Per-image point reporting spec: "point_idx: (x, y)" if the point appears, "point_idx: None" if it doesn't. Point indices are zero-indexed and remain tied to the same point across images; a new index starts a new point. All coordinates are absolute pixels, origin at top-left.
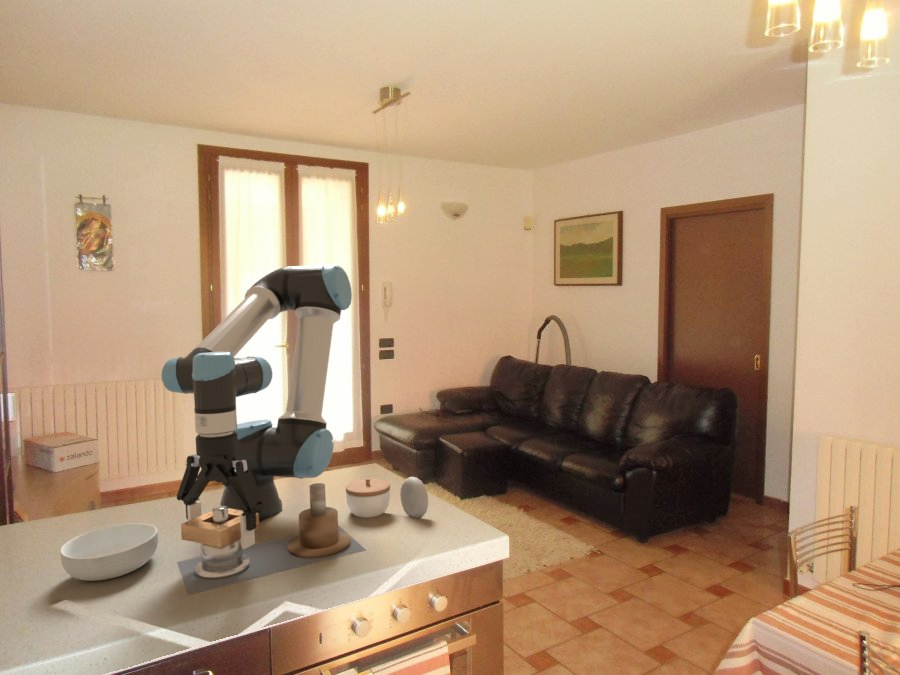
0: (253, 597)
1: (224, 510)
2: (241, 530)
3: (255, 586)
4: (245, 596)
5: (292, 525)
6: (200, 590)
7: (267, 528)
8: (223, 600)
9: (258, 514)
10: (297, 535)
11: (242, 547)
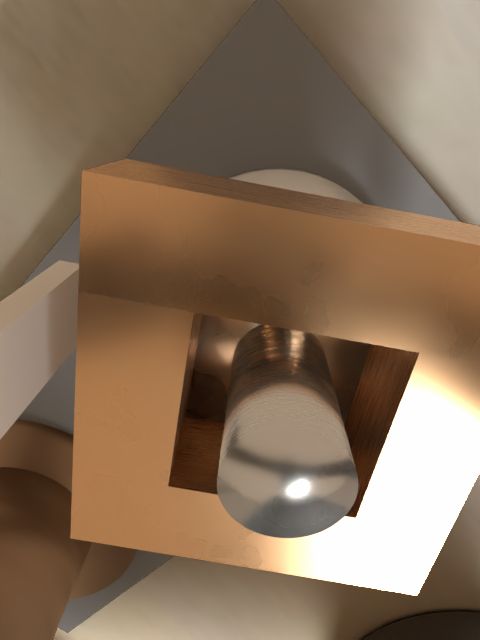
0: (5, 109)
1: (222, 460)
2: (24, 306)
3: (67, 204)
4: (44, 110)
5: (253, 632)
6: (233, 49)
7: (328, 608)
8: (112, 49)
9: (73, 529)
10: (134, 552)
11: (71, 264)
